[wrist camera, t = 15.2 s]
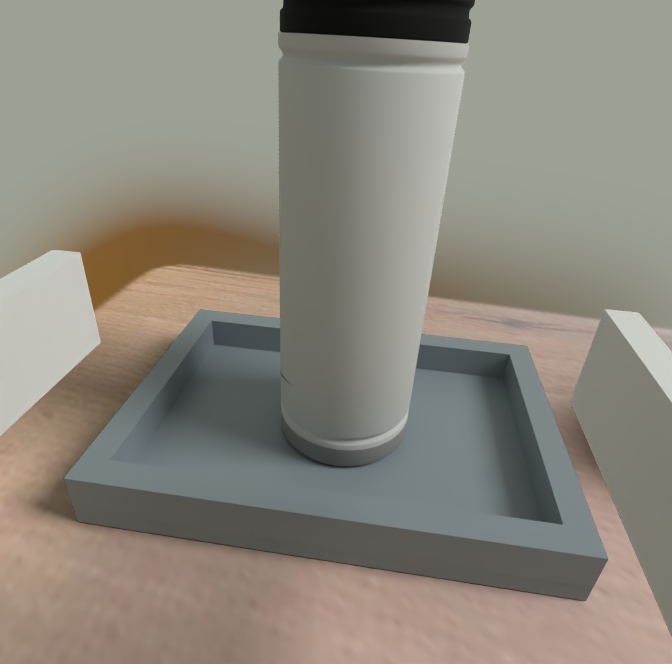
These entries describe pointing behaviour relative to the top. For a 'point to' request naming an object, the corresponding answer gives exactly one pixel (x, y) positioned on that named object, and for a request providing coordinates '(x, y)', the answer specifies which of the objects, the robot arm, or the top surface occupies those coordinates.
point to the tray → (349, 481)
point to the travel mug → (360, 210)
